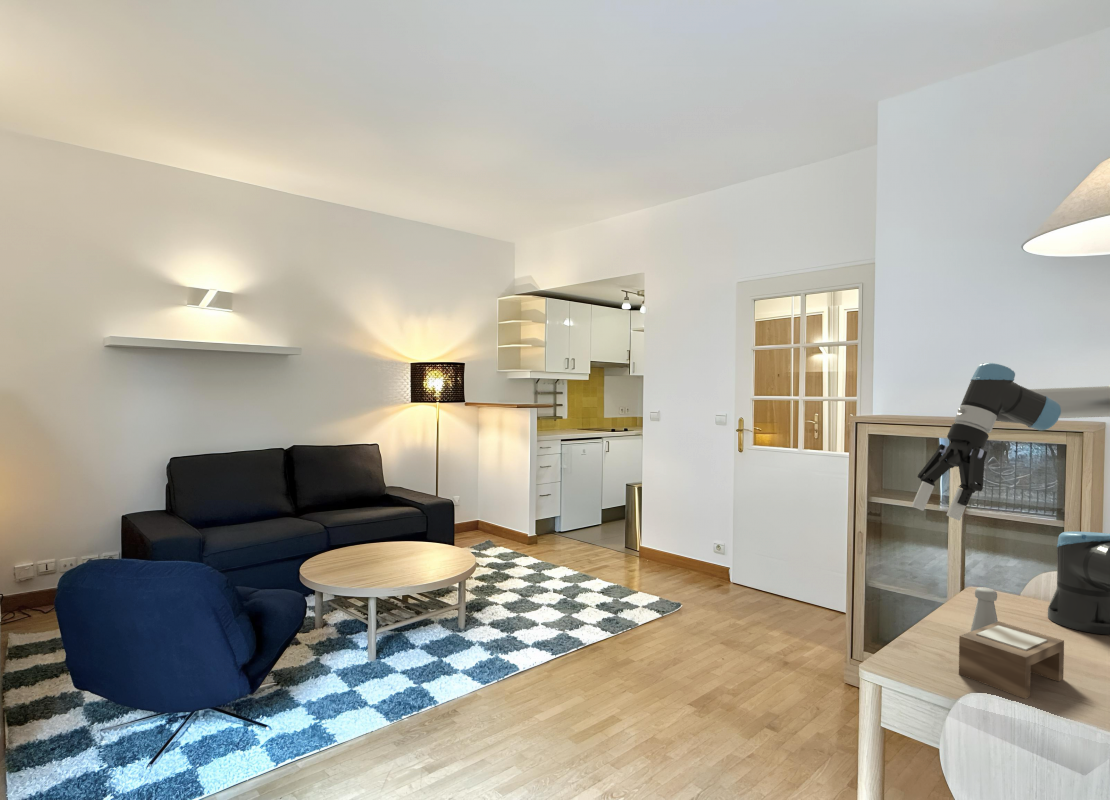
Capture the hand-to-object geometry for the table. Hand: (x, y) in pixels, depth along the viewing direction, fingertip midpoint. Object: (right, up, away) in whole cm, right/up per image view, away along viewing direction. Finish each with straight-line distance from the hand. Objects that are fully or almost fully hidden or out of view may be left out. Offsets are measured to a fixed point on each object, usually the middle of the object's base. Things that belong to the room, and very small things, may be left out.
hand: (934, 513), depth 144 cm
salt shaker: (+13, -31, +1) cm, 33 cm away
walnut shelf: (+7, -31, -15) cm, 35 cm away
